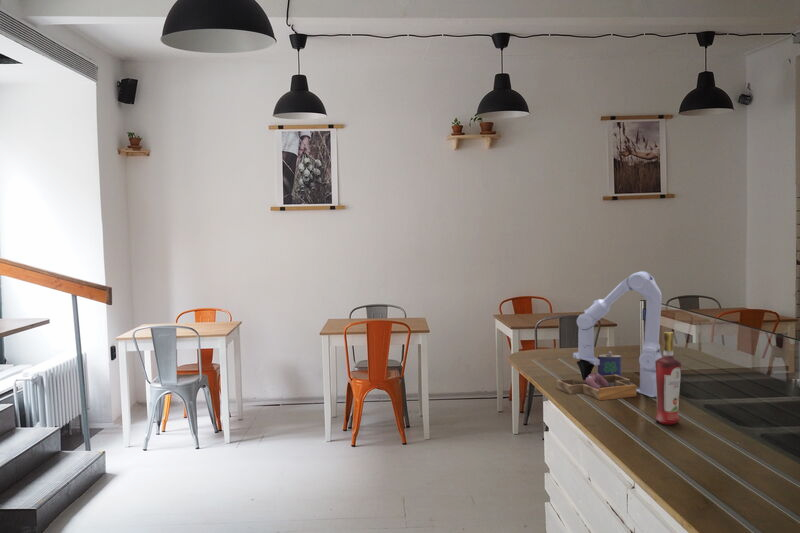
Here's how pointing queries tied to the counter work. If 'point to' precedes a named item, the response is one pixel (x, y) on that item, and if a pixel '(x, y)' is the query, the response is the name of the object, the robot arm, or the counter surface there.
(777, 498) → the counter surface
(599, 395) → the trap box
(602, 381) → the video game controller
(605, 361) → the flask
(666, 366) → the liquor
